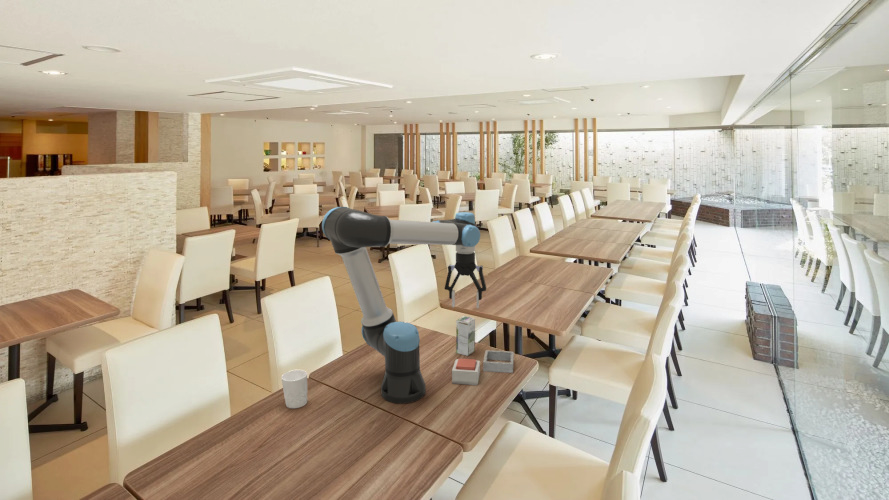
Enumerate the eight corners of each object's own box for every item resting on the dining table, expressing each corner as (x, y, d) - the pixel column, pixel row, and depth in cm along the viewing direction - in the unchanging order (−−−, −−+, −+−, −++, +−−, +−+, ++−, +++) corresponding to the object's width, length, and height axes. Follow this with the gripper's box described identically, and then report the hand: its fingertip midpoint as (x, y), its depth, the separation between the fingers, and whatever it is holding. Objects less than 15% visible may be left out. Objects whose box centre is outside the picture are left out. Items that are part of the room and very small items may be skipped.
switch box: (452, 383, 161) (452, 370, 160) (455, 371, 170) (455, 359, 169) (477, 385, 160) (477, 372, 159) (479, 373, 169) (479, 360, 168)
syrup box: (462, 348, 191) (462, 315, 188) (475, 351, 188) (475, 317, 185) (455, 353, 186) (455, 319, 183) (468, 356, 183) (468, 322, 180)
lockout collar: (483, 371, 170) (483, 362, 170) (485, 358, 181) (485, 350, 180) (512, 373, 168) (513, 364, 168) (513, 360, 179) (513, 351, 178)
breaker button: (456, 379, 162) (456, 366, 161) (458, 371, 168) (458, 358, 167) (474, 380, 161) (474, 367, 160) (476, 372, 167) (476, 359, 166)
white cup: (294, 395, 155) (292, 368, 153) (314, 399, 152) (311, 371, 150) (278, 407, 148) (276, 378, 146) (298, 411, 145) (296, 382, 143)
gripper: (436, 253, 176) (437, 308, 181) (492, 254, 173) (492, 311, 177) (439, 249, 184) (440, 302, 188) (494, 250, 180) (493, 305, 185)
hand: (465, 306), depth 183 cm, fingers open, 9 cm apart
